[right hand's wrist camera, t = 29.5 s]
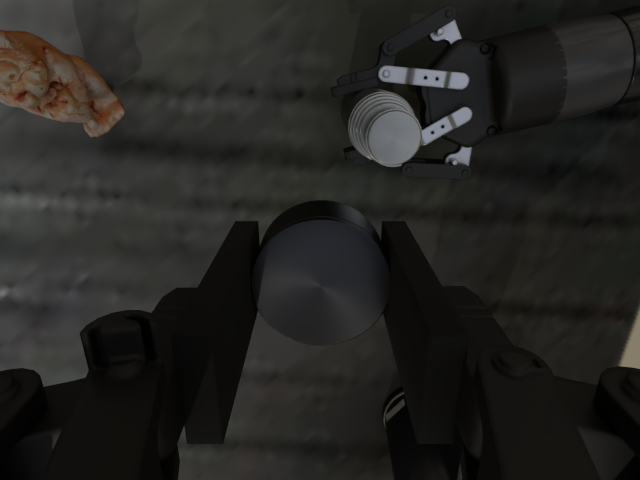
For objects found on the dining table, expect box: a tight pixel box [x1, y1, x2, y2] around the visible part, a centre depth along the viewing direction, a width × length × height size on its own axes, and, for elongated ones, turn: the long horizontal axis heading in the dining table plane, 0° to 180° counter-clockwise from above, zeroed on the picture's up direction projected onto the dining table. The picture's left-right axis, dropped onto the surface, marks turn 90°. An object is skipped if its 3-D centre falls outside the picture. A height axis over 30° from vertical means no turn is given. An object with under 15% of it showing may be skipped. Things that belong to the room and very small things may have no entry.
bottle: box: [341, 88, 422, 167], centre depth 32 cm, size 4×4×19 cm
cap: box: [251, 200, 390, 345], centre depth 13 cm, size 4×4×2 cm
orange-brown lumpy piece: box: [0, 30, 125, 137], centre depth 33 cm, size 6×8×15 cm
